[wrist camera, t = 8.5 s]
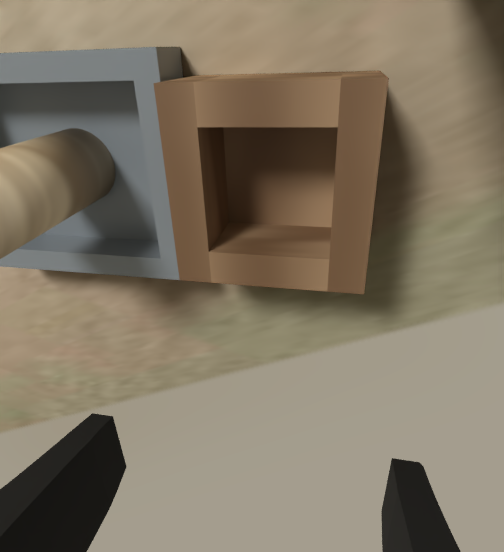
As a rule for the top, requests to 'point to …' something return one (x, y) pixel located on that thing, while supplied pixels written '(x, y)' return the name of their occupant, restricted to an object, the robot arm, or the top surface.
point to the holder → (273, 176)
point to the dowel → (50, 183)
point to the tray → (119, 141)
